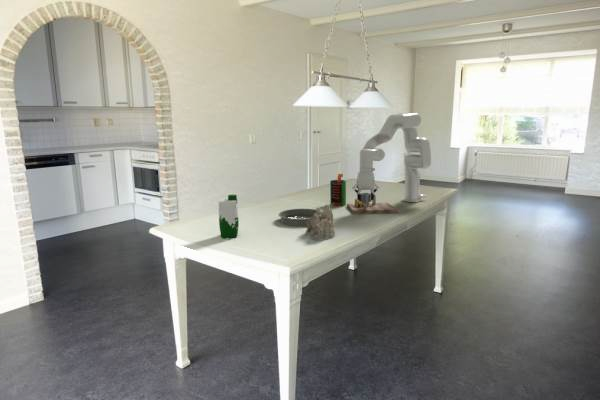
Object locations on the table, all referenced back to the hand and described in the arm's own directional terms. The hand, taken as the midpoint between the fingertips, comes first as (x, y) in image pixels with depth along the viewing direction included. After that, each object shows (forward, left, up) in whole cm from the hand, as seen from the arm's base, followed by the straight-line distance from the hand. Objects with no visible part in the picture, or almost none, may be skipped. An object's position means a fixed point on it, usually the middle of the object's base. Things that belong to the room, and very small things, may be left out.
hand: (365, 200), depth 243 cm
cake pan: (+40, +16, -8) cm, 44 cm away
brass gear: (0, -9, -5) cm, 10 cm away
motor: (+12, -23, -8) cm, 27 cm away
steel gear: (0, 0, -1) cm, 1 cm away
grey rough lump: (+34, +45, -8) cm, 57 cm away
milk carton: (+77, +41, -8) cm, 87 cm away
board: (-5, -5, -7) cm, 10 cm away
